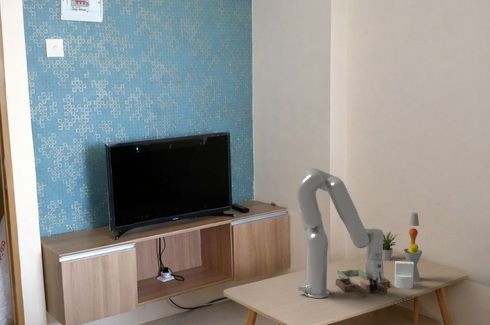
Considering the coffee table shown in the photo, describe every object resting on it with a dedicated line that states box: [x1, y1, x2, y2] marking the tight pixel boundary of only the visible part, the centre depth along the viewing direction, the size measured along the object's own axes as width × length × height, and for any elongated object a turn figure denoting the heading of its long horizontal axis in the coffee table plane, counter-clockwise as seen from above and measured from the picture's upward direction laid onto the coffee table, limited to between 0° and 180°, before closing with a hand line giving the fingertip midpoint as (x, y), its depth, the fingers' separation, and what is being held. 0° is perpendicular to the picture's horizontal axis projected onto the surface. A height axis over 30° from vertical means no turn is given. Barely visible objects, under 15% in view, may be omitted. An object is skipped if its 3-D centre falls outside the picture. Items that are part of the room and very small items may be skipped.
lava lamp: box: [403, 212, 423, 283], centre depth 293 cm, size 9×9×35 cm
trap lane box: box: [335, 268, 391, 298], centre depth 288 cm, size 24×29×3 cm
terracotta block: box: [359, 279, 371, 294], centre depth 281 cm, size 6×6×4 cm
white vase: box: [393, 260, 414, 290], centre depth 286 cm, size 9×9×12 cm
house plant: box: [382, 231, 402, 261], centre depth 327 cm, size 14×14×16 cm
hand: (373, 291), depth 276 cm, fingers closed
